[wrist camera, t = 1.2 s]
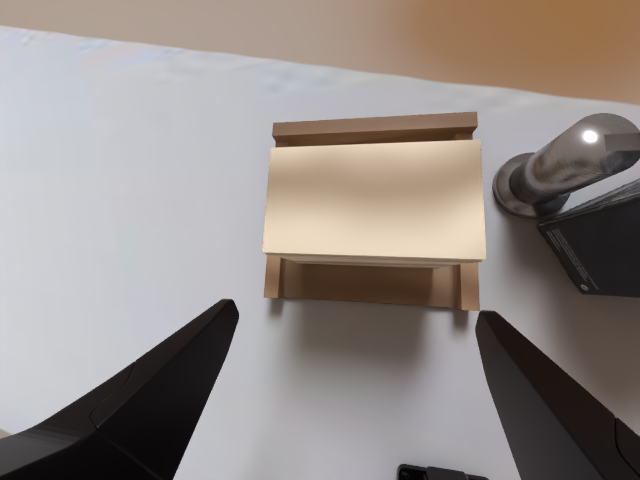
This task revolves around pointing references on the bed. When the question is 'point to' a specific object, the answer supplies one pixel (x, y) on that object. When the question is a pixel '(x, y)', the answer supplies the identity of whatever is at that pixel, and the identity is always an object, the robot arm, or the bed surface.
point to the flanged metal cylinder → (567, 165)
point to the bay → (375, 281)
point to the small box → (600, 242)
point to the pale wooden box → (377, 204)
